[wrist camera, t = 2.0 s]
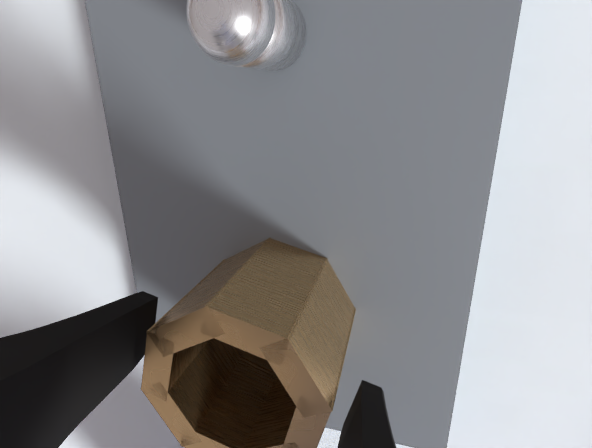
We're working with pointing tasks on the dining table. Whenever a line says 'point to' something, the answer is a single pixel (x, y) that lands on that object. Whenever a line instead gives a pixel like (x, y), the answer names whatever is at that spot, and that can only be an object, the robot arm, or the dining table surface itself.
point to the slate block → (322, 170)
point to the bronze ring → (252, 352)
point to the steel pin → (248, 32)
